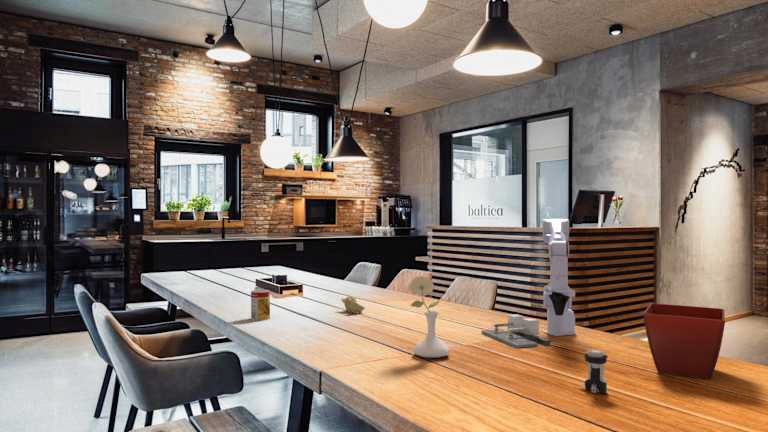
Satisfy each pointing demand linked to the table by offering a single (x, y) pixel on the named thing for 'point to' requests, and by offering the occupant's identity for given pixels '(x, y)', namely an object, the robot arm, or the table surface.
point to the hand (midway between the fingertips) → (559, 315)
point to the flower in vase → (431, 343)
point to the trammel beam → (534, 338)
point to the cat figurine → (352, 305)
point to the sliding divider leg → (527, 327)
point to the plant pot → (684, 338)
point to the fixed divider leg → (511, 322)
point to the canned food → (260, 305)
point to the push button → (595, 372)
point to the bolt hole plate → (509, 338)
